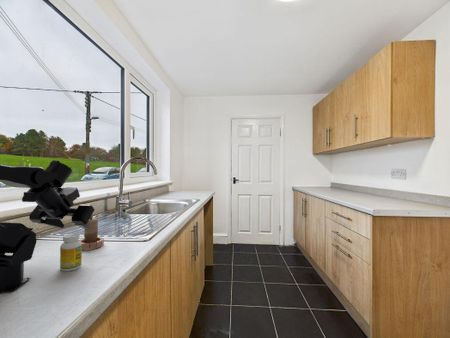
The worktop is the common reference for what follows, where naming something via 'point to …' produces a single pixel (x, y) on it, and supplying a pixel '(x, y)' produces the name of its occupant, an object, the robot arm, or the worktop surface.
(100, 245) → the ring
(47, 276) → the worktop surface
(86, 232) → the brown cylinder
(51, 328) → the worktop surface
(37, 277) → the worktop surface
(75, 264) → the supplement bottle
